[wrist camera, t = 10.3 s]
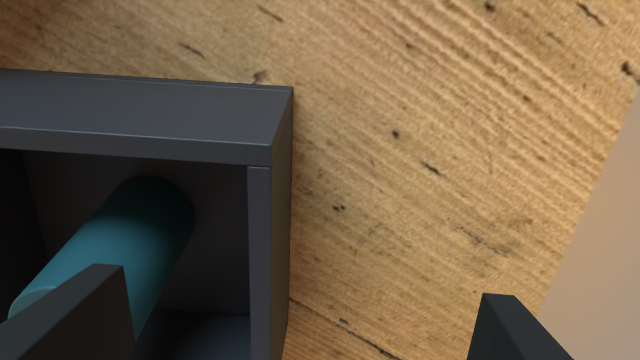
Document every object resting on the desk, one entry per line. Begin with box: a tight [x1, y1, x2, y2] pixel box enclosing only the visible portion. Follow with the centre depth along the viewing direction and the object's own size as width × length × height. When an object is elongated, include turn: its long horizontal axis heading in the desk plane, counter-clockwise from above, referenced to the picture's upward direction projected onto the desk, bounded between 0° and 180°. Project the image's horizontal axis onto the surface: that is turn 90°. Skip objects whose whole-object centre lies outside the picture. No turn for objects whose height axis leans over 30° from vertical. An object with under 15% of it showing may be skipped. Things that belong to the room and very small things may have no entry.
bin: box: [0, 68, 294, 360], centre depth 19 cm, size 11×11×6 cm
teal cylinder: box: [8, 177, 195, 342], centre depth 18 cm, size 4×4×7 cm
